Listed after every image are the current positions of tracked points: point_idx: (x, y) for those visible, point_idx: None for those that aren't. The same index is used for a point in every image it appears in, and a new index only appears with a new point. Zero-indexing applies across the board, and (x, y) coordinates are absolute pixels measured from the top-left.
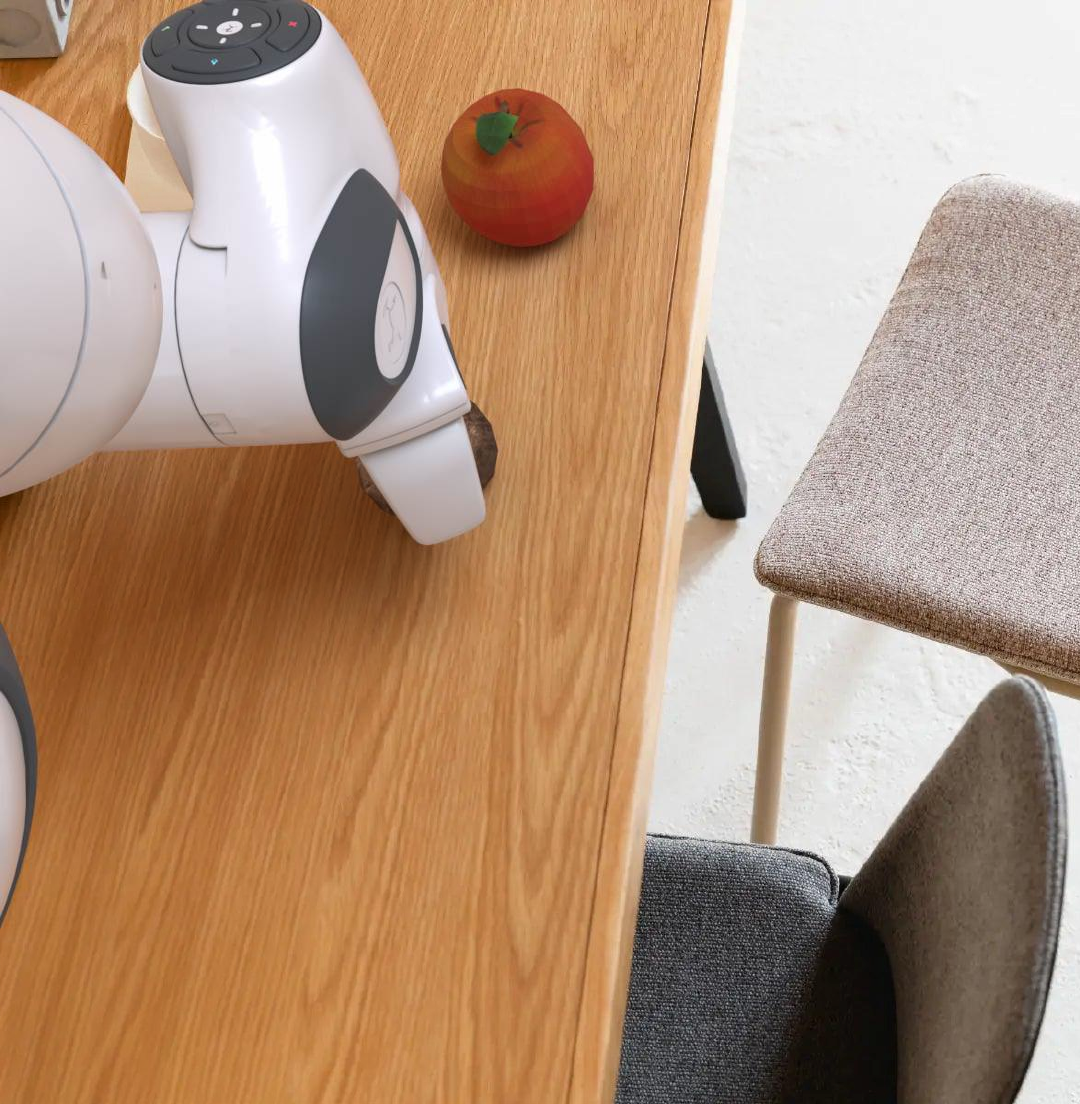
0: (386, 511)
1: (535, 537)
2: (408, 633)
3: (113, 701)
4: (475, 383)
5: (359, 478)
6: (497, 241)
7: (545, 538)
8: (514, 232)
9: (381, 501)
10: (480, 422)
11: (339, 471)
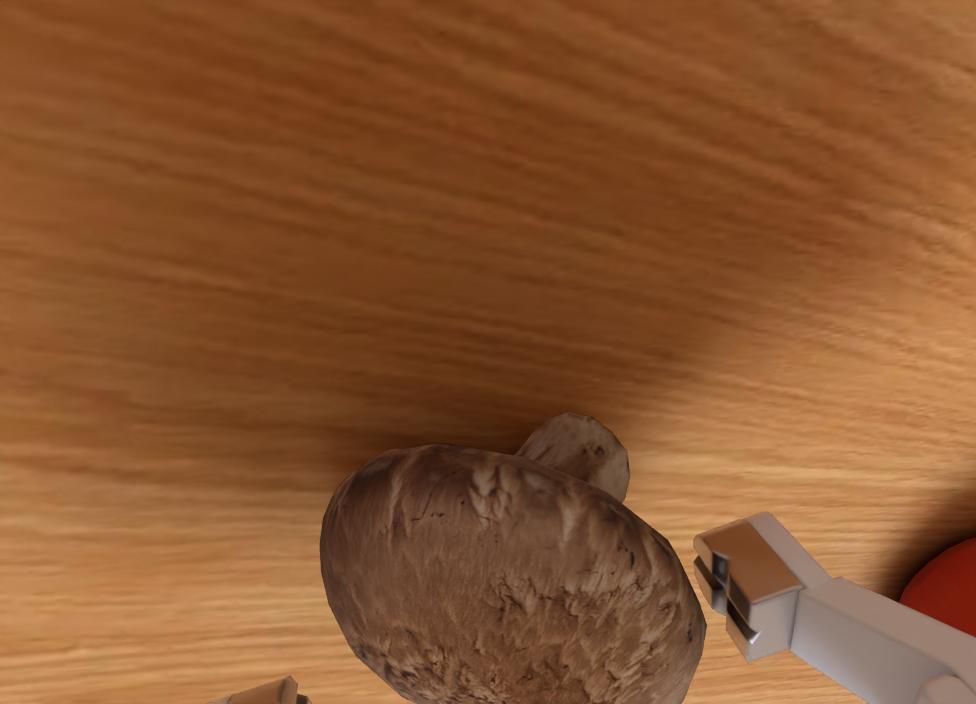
0: (349, 482)
1: (300, 647)
2: (4, 455)
3: None
4: (686, 530)
5: (443, 478)
6: (951, 593)
7: (295, 660)
8: None
9: (352, 519)
10: None
11: (571, 274)
